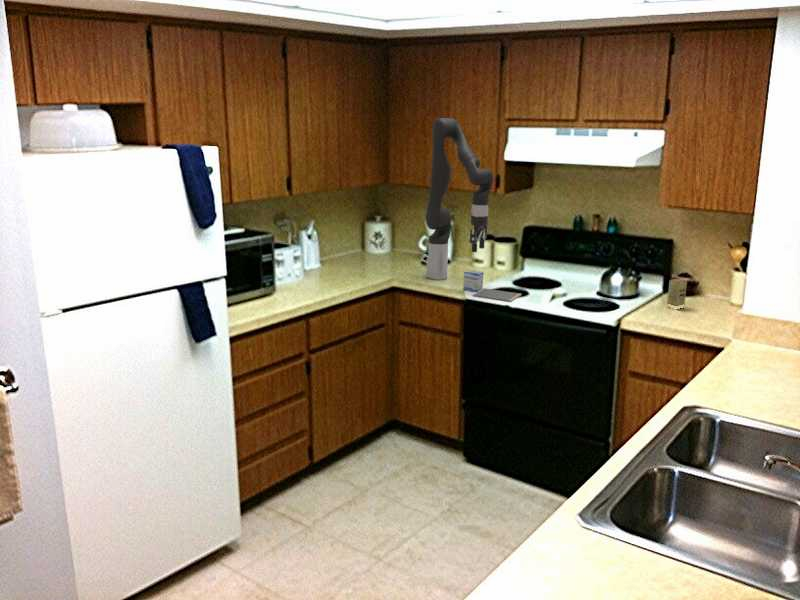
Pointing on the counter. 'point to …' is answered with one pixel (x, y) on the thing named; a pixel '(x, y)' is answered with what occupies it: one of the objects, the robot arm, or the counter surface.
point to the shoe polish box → (677, 292)
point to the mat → (496, 295)
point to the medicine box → (473, 281)
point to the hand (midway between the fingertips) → (477, 250)
